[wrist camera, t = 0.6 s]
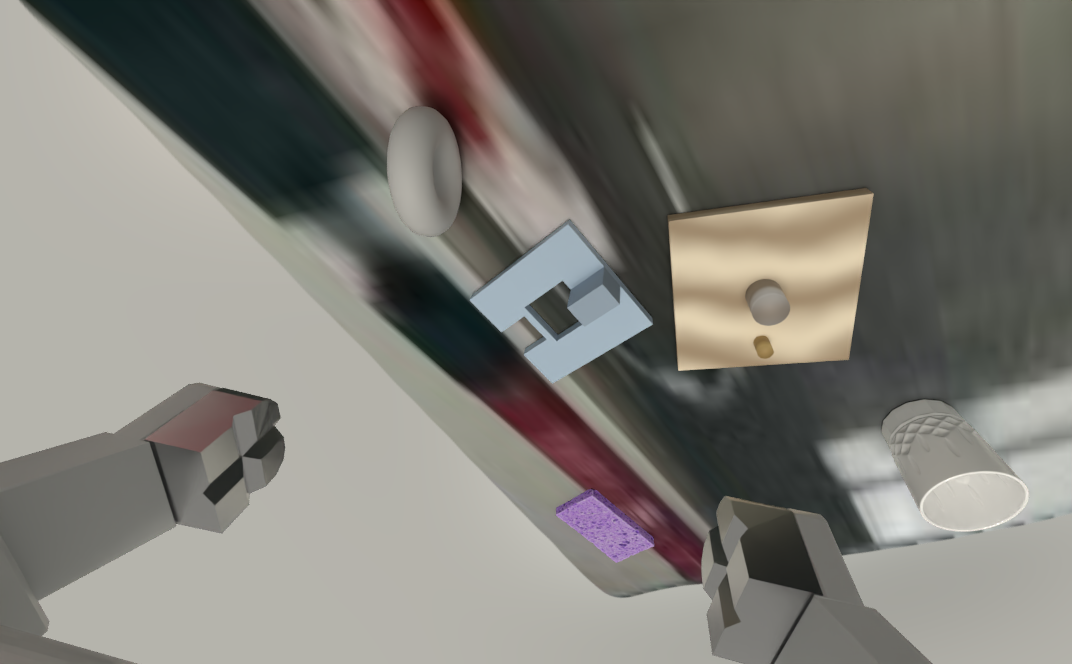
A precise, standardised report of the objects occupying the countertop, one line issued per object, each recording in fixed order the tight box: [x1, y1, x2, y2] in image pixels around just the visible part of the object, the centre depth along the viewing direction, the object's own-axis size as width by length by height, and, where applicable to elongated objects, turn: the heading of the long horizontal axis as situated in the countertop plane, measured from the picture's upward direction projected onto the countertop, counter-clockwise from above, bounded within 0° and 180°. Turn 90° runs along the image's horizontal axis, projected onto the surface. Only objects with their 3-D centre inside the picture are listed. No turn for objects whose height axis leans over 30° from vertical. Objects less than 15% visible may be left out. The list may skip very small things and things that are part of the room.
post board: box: [668, 188, 873, 371], centre depth 44 cm, size 16×16×4 cm
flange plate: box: [470, 219, 653, 383], centre depth 48 cm, size 13×13×5 cm
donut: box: [387, 106, 462, 237], centre depth 40 cm, size 10×4×10 cm, turn 3°
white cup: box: [881, 399, 1029, 531], centre depth 47 cm, size 8×8×10 cm
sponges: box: [556, 489, 654, 563], centre depth 67 cm, size 7×13×2 cm, turn 46°
